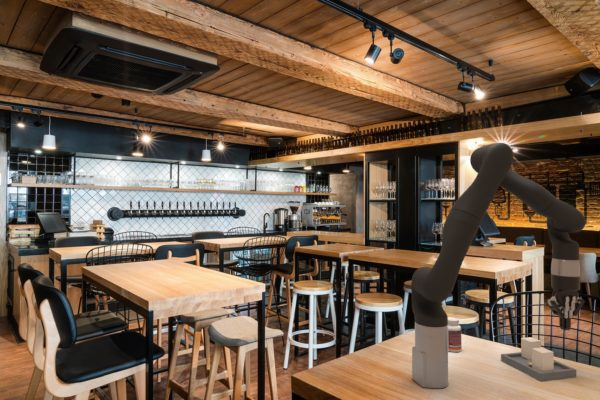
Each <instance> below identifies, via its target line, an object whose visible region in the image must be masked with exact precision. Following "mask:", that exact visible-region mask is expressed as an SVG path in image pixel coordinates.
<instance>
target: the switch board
mask: <svg viewBox="0 0 600 400" xmlns="http://www.w3.org/2000/svg"><path fill="white" fill-rule="evenodd" d="M500 361H501V362H502V363H505V364H507V365H509V366H510V367H512V368H514V369H516V370H518V371H520V372H522V373H524V374H526V375H527V376H529V377H531V378H534V379H536V380H537V381H539V382H545V381H553V380H562V379H563V380H564V379H571V378H577V369H576V368H574V367H572V366H569V365H567V364H565V363H562V362H560V361H557V360H555V359H554V371H545V372H539V371H537V370H535V369H533V368H532V359H526V358H524V357H522V356H521V351H519V352H508V353H501V354H500Z"/></svg>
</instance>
